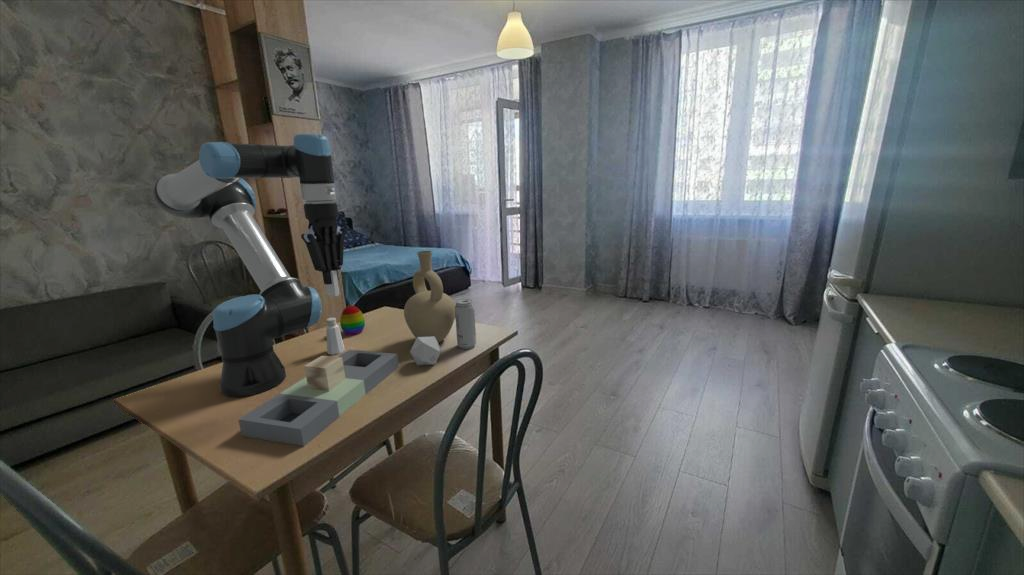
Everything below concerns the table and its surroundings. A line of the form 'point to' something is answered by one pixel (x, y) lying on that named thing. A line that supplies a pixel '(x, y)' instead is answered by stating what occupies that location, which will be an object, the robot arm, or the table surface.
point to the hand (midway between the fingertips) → (333, 295)
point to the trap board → (317, 401)
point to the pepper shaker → (334, 337)
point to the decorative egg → (352, 320)
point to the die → (425, 350)
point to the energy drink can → (465, 323)
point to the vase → (429, 303)
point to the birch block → (325, 373)
